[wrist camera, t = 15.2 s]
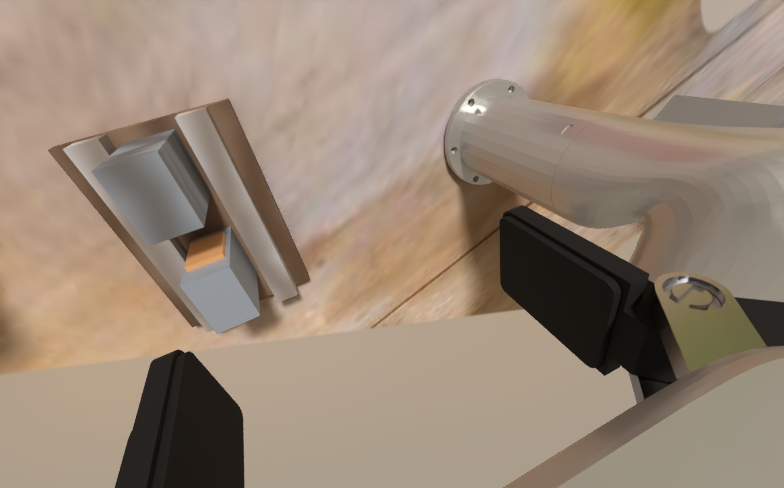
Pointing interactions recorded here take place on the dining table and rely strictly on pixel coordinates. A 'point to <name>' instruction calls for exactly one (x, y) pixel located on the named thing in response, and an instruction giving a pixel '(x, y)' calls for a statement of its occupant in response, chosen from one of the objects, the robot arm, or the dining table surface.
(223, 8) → the dining table surface
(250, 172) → the rail
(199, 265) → the block
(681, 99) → the perfume bottle
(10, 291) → the dining table surface
